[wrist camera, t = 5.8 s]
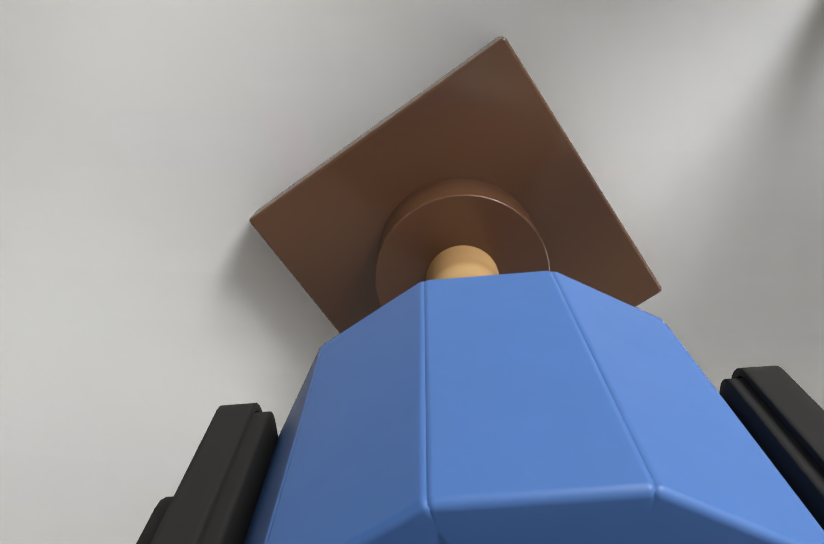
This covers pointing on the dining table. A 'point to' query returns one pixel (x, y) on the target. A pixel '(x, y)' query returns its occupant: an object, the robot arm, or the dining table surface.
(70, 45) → the dining table surface
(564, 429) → the blue hollow cylinder
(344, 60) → the dining table surface
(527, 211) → the dowel stand
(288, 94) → the dining table surface
